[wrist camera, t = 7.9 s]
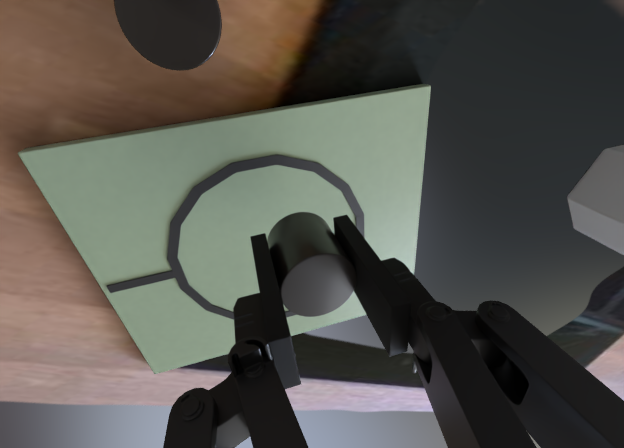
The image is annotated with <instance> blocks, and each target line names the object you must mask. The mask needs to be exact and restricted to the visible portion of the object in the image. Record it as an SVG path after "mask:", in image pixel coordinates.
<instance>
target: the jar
mask: <svg viewBox="0 0 624 448" xmlns="http://www.w3.org/2000/svg"><path fill="white" fill-rule="evenodd" d="M567 201H568V206H569V210H570V214H571V219H572V224H573V228H574V229H576V230H578V231H579V232H581V233H583V234H585V235H587V236H589V237H590V238H592V239H594V240H596V241H598V242H600V243H602V244H604V245H605V246H607V247H609V248H611V249H613V250H615V251H617V252H618V253H620V254H622V255H624V144H623V145H619V146H615V147H610V148H606V149H604V150H603V151H602V152H601V153H600V155H599V156H598V157H597V159H596V160H595V161H594V162H593V164H592V165H591V166H590V167H589V169H588V170H587V171H586V172H585V174H584V175H583V176H582V178H581V179H580V180H579V181H578V183H577V184H576V185H575V186H574V188H573V189H572V190H571V192H570V193H569V194H568V195H567Z"/></svg>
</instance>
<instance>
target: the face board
mask: <svg viewBox="0 0 624 448" xmlns="http://www.w3.org/2000/svg"><path fill="white" fill-rule="evenodd" d="M430 89H431V86H430V85H427V84H419V85H413V86H407V87H401V88H395V89H389V90H382V91H376V92H370V93H364V94H358V95H351V96H345V97H339V98H333V99H327V100H321V101H314V102H308V103H302V104H296V105H290V106H283V107H277V108H271V109H265V110H259V111H253V112H246V113H240V114H234V115H228V116H222V117H215V118H209V119H203V120H197V121H191V122H185V123H178V124H172V125H166V126H160V127H154V128H147V129H141V130H135V131H129V132H123V133H117V134H110V135H104V136H98V137H92V138H86V139H79V140H73V141H67V142H61V143H55V144H49V145H42V146H36V147H30V148H25V149H23V150H22V151H20V152H18V155H19V157H20V158H21V160H22V161H23V163H24V165H25V166H26V168H27V170H28V171H29V173H30V174H31V176H32V178H33V179H34V181H35V182H36V184H37V186H38V187H39V189H40V190H41V192H42V194H43V195H44V197H45V198H46V200H47V202H48V203H49V205H50V207H51V208H52V210H53V211H54V213H55V215H56V216H57V218H58V219H59V221H60V223H61V224H62V226H63V227H64V229H65V231H66V232H67V234H68V235H69V237H70V239H71V240H72V242H73V244H74V245H75V247H76V248H77V250H78V252H79V253H80V255H81V256H82V258H83V260H84V261H85V263H86V264H87V266H88V268H89V269H90V271H91V273H92V274H93V276H94V277H95V279H96V281H97V282H98V284H99V285H100V287H101V289H102V290H103V292H104V293H105V295H106V297H107V298H108V300H109V301H110V303H111V305H112V306H113V308H114V310H115V311H116V313H117V314H118V316H119V318H120V319H121V321H122V322H123V324H124V326H125V327H126V329H127V330H128V332H129V334H130V335H131V337H132V338H133V340H134V342H135V343H136V345H137V347H138V348H139V350H140V351H141V353H142V355H143V356H144V358H145V359H146V361H147V363H148V364H149V366H150V367H151V369H152V371H153V372H154V374H157V373H161V372H164V371H168V370H172V369H175V368H179V367H182V366H186V365H189V364H193V363H196V362H200V361H204V360H207V359H211V358H214V357H218V356H221V355H225V354H228V353H229V352H230V350H231V348H232V347H233V346H234V345H235V329H234V328H235V327H234V312H233V308H234V305H235V303H236V301H237V299H238V298H240V297H244V296H248V295H252V294H256V293H260V291H259V285H258V279H257V274H256V268H255V262H254V256H253V250H252V244H251V238H250V236H254V235H259V234H263V233H265V234H266V238H267V240H268V236H269V233H270V231H271V229H272V228H273V226H274V225H275V224H276V223H277V222H278V221H279V220H281V219H282V218H284V217H285V216H287V215H290V214H293V213H297V212H310V213H314V214H316V215H318V216H320V217H322V218H323V219H324V220H325V221H326V222H327V224H328V225H329V227H330V229H331V230H332V232H333V233H334V222H333V218H334V217H338V216H343V215H348V217H349V218H350V219H351V221H352V222H353V223H354V225H355V226H356V227H357V229H358V230H359V231H360V233H361V234H362V236H363V237H364V238H365V240H366V241H367V242H368V244H369V245H370V246H371V248H372V249H373V250H374V252H375V253H376V254H377V256H378V257H379V258H380V260H381V261H382V260H386V259H390V258H396V259H398V260H400V261H401V262H403V263H404V264H405V265H406V266H407V267H408V269H409V270H410V272H412V273H413V275H414V268H415V257H416V256H415V255H416V246H417V235H418V224H419V223H418V222H419V213H420V212H419V211H420V201H421V190H422V179H423V168H424V157H425V146H426V145H425V144H426V134H427V123H428V111H429V101H430ZM334 235H335V234H334ZM283 306H284V305H283ZM284 310H285V314H286V318H287V322H288V326H289V330H290V334H291V336H293V335H296V334H300V333H303V332H307V331H310V330H314V329H317V328H321V327H324V326H328V325H332V324H335V323H339V322H342V321H346V320H349V319H353V318H356V317H360V316H364V315H367V314H366V312H365V311H364V309H363V307H362V305H361V303H360V301H359V299H358V298H357V296H356V294H355V292H354V291H353V293H352V295H351V296H350V298H349V299H348V300H347V301H346V302H345V303H344V304H343V305H342V306H340V307H339V308H337V309H336V310H334V311H332V312H330V313H328V314H325V315H321V316H315V317H304V316H299V315H296V314H294V313H292V312H291V311H289V310H288V309H287V308H286V307H285V306H284Z"/></svg>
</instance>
